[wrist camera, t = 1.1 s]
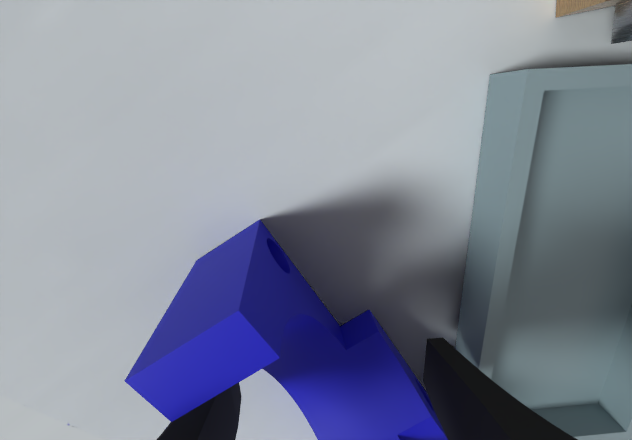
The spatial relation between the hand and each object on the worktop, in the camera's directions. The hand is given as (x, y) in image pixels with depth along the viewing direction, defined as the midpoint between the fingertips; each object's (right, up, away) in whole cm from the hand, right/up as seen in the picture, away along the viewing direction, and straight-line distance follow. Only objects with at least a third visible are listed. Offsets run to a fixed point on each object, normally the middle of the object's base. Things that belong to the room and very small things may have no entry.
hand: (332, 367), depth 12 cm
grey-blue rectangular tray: (+10, +3, +2) cm, 10 cm away
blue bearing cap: (0, +1, +2) cm, 2 cm away
